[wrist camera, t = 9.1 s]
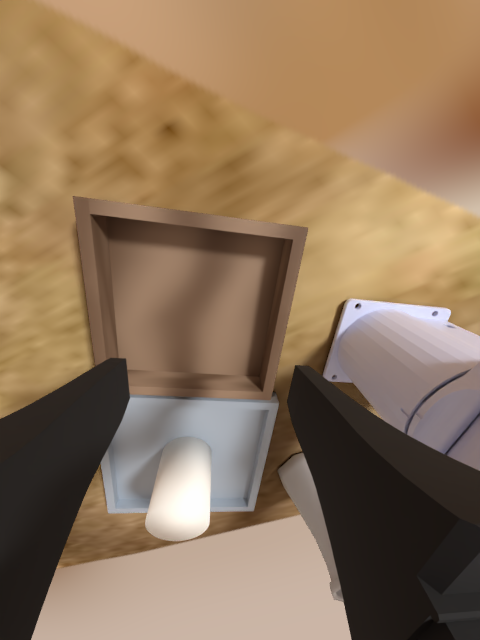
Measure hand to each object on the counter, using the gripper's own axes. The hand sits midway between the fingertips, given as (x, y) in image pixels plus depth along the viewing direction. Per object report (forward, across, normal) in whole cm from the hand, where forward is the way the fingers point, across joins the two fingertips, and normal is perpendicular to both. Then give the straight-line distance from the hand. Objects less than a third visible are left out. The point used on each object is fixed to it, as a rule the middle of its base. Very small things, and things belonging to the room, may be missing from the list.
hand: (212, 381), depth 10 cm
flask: (+10, -12, +19) cm, 25 cm away
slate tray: (+9, +2, +16) cm, 19 cm away
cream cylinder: (+9, +2, +16) cm, 18 cm away
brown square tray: (+9, +2, 0) cm, 10 cm away
